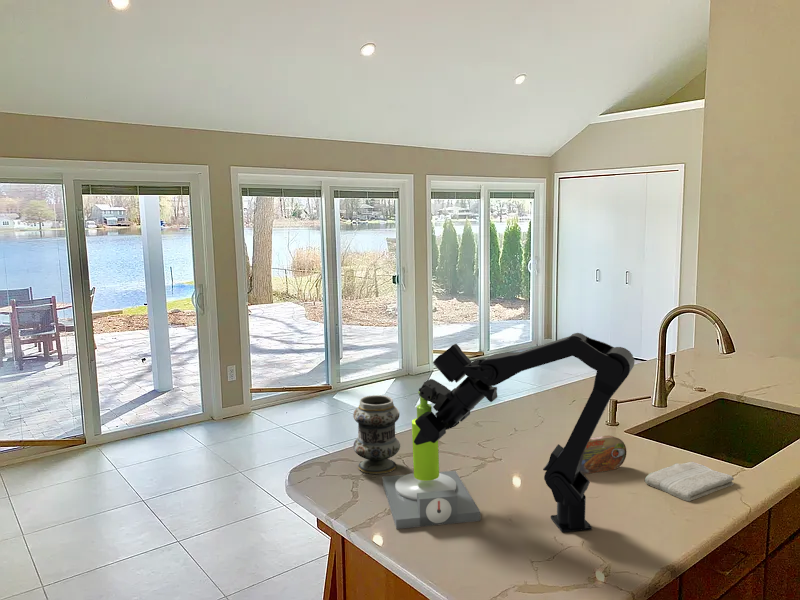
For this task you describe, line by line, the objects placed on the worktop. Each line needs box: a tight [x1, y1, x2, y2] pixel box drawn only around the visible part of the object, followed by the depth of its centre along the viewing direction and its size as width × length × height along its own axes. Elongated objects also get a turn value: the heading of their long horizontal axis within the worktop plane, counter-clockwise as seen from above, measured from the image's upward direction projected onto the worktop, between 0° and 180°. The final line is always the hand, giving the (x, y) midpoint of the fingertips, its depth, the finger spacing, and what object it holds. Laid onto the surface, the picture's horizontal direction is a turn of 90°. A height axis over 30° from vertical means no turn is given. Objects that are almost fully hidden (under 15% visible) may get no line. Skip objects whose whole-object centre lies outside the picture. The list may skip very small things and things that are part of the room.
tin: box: [580, 435, 627, 475], centre depth 158 cm, size 15×3×8 cm, turn 105°
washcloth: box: [644, 461, 734, 502], centre depth 149 cm, size 12×18×3 cm, turn 121°
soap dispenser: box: [411, 390, 440, 481], centre depth 144 cm, size 6×7×20 cm
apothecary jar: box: [352, 394, 401, 475], centre depth 162 cm, size 12×12×18 cm
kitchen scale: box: [382, 470, 481, 530], centre depth 142 cm, size 22×18×6 cm
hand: (421, 438), depth 146 cm, fingers closed on soap dispenser, 6 cm apart
